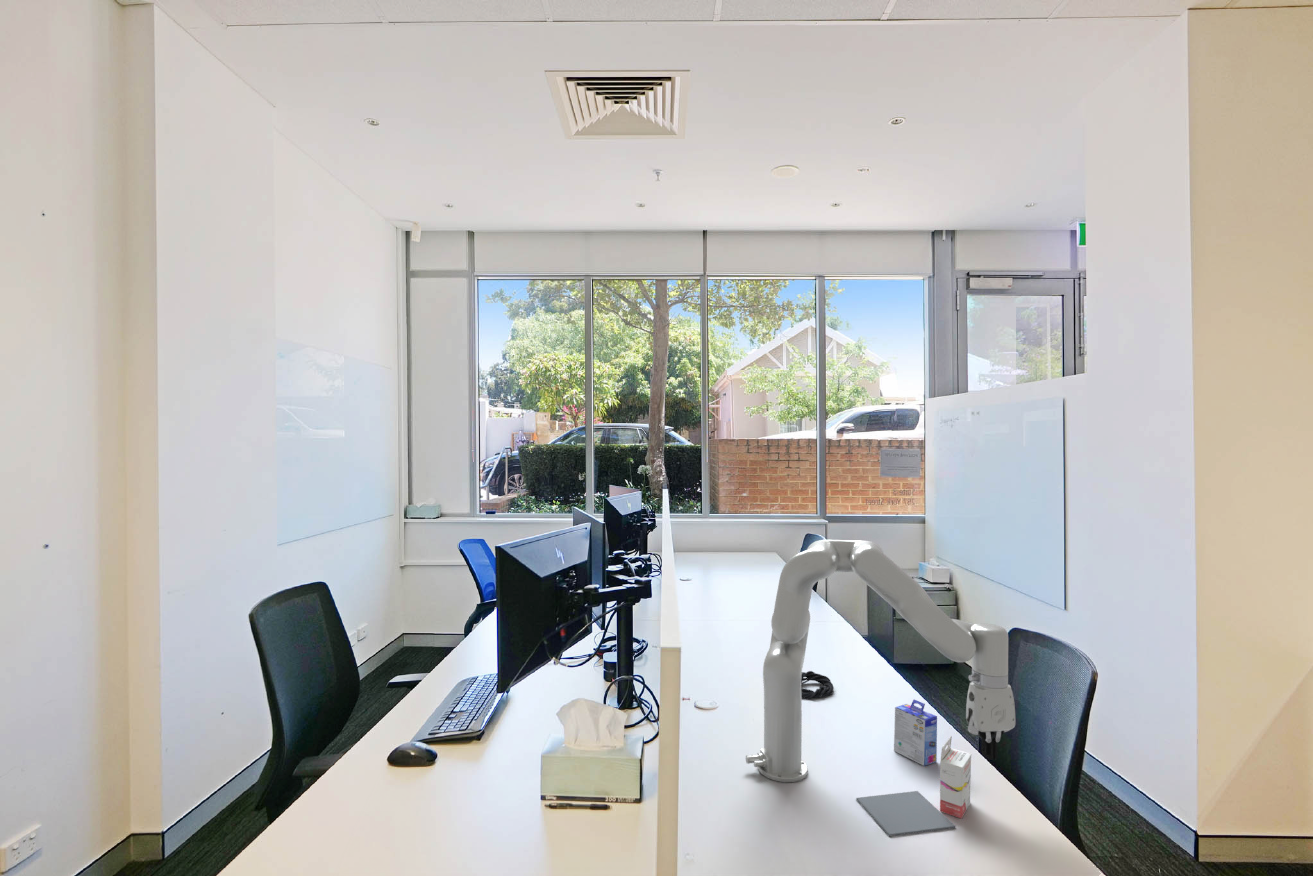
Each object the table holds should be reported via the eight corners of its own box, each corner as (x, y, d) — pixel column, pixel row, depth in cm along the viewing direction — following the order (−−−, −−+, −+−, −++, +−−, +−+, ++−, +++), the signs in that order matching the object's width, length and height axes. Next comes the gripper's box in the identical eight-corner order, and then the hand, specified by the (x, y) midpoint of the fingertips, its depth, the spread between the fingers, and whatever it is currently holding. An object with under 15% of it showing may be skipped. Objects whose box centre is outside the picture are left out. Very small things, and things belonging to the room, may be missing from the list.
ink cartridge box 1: (938, 762, 167) (938, 707, 167) (925, 767, 164) (925, 711, 164) (906, 746, 176) (906, 694, 176) (893, 751, 173) (893, 698, 173)
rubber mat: (889, 836, 136) (889, 834, 136) (856, 799, 149) (856, 797, 149) (955, 828, 139) (955, 826, 139) (917, 793, 153) (917, 790, 153)
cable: (819, 680, 225) (819, 667, 225) (846, 694, 212) (846, 681, 212) (779, 687, 218) (779, 674, 218) (804, 703, 205) (804, 689, 205)
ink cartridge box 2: (962, 820, 142) (963, 754, 142) (939, 811, 145) (939, 747, 145) (971, 803, 149) (972, 740, 149) (949, 795, 152) (949, 734, 152)
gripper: (972, 687, 143) (972, 768, 143) (1029, 682, 146) (1029, 761, 146) (951, 675, 151) (950, 751, 151) (1005, 670, 154) (1005, 746, 154)
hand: (989, 756), depth 148 cm, fingers closed
